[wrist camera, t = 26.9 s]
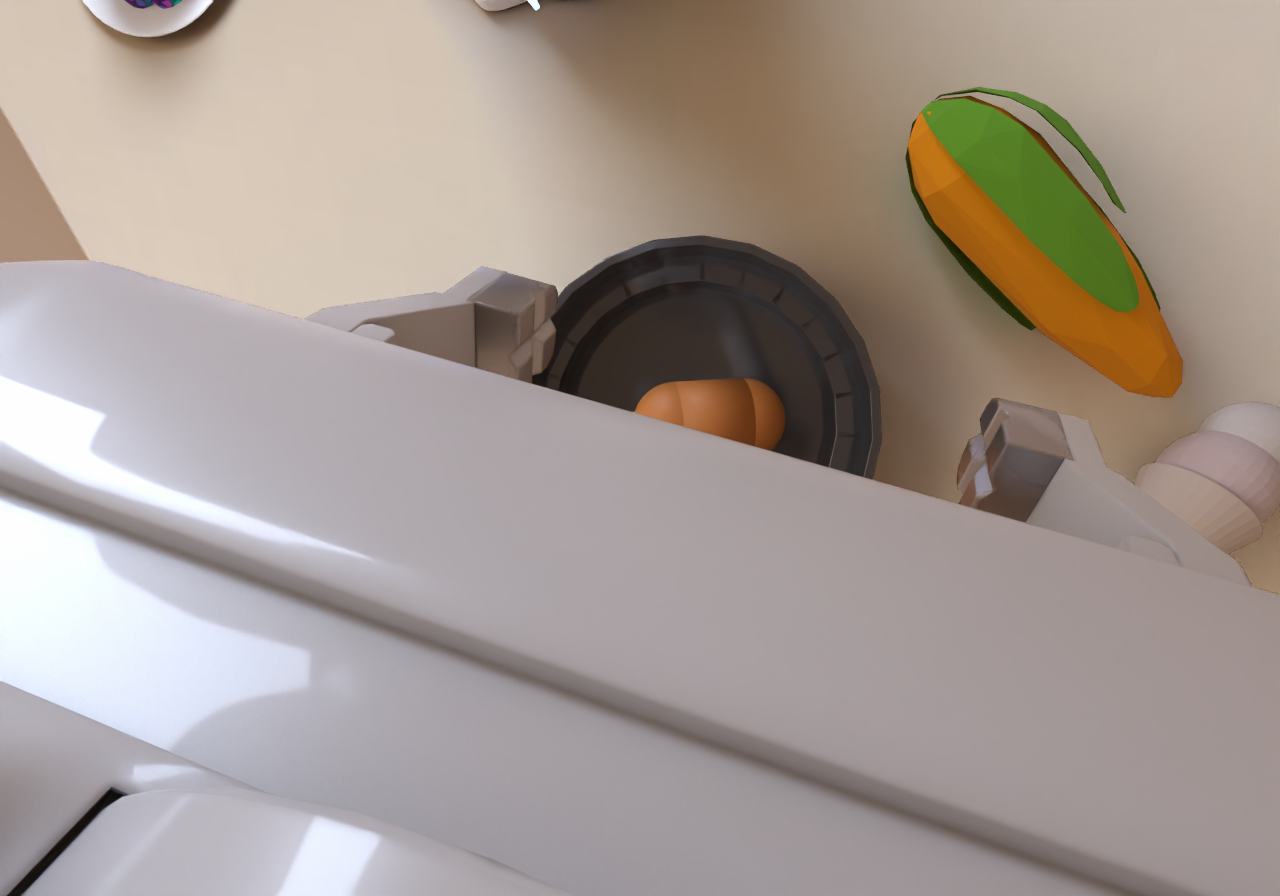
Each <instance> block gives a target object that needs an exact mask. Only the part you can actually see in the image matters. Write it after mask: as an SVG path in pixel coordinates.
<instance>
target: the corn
mask: <svg viewBox="0 0 1280 896" xmlns="http://www.w3.org/2000/svg"><path fill="white" fill-rule="evenodd" d="M972 92H981V93H987V94H992V95H997V96H1002V97H1007V98H1011V99H1013V100H1015V101H1017V102H1019V103H1021V104H1023V105H1026V106H1028V107H1030V108H1032V109H1034V110H1036V111H1037V112H1038V113H1039V114H1040V115H1041V116H1042V117H1044V118H1045V119H1046V120H1047V121H1048V122H1049V123H1050V124H1051V125H1052V126H1053V127H1054V128H1055V129H1056V130H1057V131H1058V132H1059V133H1060V134H1062V135H1063V136H1064V137H1065V138H1066V139H1067V140H1068V141H1069V142H1070V143H1071V144H1072V145H1073V146H1074V147H1075V148H1076V149H1077V150H1078V151H1079V152H1080V154H1081V155H1082V156H1083V158H1084V159H1085V161H1086V162H1087V163H1088V165H1089V166H1090V167H1091V169H1092V170H1093V172H1094V173H1095V174H1096V176H1097V177H1098V178H1099V180H1100V181H1101V182H1102V184H1103V186H1104V188H1105V190H1106V191H1107V193H1108V195H1109V197H1110V199H1111V200H1112V202H1113V203H1114V204H1115V205H1116V206H1117V207H1118V208H1119V209H1120V210H1122V211H1123V212H1124V213H1126V211H1125V209H1124V207H1123V205H1122V203H1121V202H1120V200H1119V198H1118V196H1117V194H1116V192H1115V190H1114V188H1113V186H1112V184H1111V182H1110V181H1109V179H1108V177H1107V175H1106V173H1105V171H1104V169H1103V167H1102V165H1101V164H1100V163H1099V161H1098V160H1097V159H1096V158H1095V156H1094V155H1093V154H1092V152H1091V151H1090V150H1089V148H1088V147H1087V146H1086V145H1085V143H1084V142H1083V141H1082V139H1081V138H1080V137H1079V135H1078V134H1077V133H1076V132H1075V130H1074V129H1073V128H1072V126H1071V125H1070V124H1069V122H1068V121H1067V120H1066V119H1064V118H1063V117H1062V116H1060V115H1059V114H1058V113H1056V112H1055V111H1054V110H1052V109H1051V108H1049V107H1048V106H1047V105H1045V104H1043V103H1040V102H1038V101H1035V100H1033V99H1031V98H1028V97H1026V96H1024V95H1021V94H1019V93H1017V92H1010V91H1003V90H996V89H988V88H981V87H977V88H972V89H967V90H962V91H957V92H953V93H948V94H943V95H939V96H938V97H937V98H939V97H941V96H946V95H955V94H963V93H972ZM937 98H936V99H937ZM936 99H935V100H936ZM906 163H907V168H908V173H909V179H910V184H911V189H912V193H913V195H914V197H915V199H916V201H917V203H918V205H919V207H920V209H921V211H922V213H923V215H924V217H925V220H926V221H927V223H928V224H929V225H930V227H931V228H932V229H933V230H934V232H935V233H936V234H937V235H938V237H939V238H940V239H941V241H942V242H943V243H944V244H945V246H946V247H947V248H948V249H949V251H950V252H951V253H952V255H953V256H954V257H955V258H956V260H957V261H958V262H959V263H960V265H961V266H962V267H963V269H964V270H965V271H966V272H967V274H968V275H969V276H970V277H971V278H972V279H973V280H974V281H975V282H976V283H977V284H978V285H979V286H980V287H981V288H982V289H983V290H984V291H985V292H986V293H987V294H988V295H989V296H990V297H991V298H992V299H993V300H994V301H995V302H996V303H997V304H998V305H999V306H1000V307H1001V308H1002V309H1003V310H1005V311H1006V312H1007V313H1008V314H1009V315H1011V316H1012V317H1013V318H1014V319H1015V320H1017V321H1018V322H1019V323H1020V324H1021V325H1023V326H1025V327H1026V328H1028V329H1030V330H1033V329H1035V328H1037V329H1038V330H1039V331H1040V332H1041V333H1043V334H1044V335H1046V336H1047V337H1049V338H1050V339H1052V340H1053V341H1055V342H1056V343H1058V344H1059V345H1060V346H1062V347H1063V348H1065V349H1066V350H1068V351H1069V352H1071V353H1072V354H1074V355H1075V356H1077V357H1078V358H1080V359H1081V360H1082V361H1084V362H1085V363H1087V364H1088V365H1090V366H1091V367H1093V368H1094V369H1096V370H1097V371H1099V372H1100V373H1101V374H1103V375H1104V376H1106V377H1107V378H1109V379H1110V380H1112V381H1113V382H1115V383H1116V384H1118V385H1119V386H1121V387H1122V388H1123V389H1125V390H1126V391H1128V392H1133V393H1137V394H1142V395H1146V396H1151V397H1173V395H1174V394H1175V392H1176V391H1177V389H1178V388H1179V386H1180V385H1181V383H1182V363H1183V361H1182V359H1181V356H1180V354H1179V352H1178V350H1177V348H1176V346H1175V343H1174V341H1173V339H1172V337H1171V335H1170V332H1169V330H1168V328H1167V326H1166V324H1165V322H1164V319H1163V317H1162V315H1161V313H1160V306H1159V303H1158V300H1157V298H1156V295H1155V292H1154V290H1153V288H1152V286H1151V284H1150V282H1149V280H1148V278H1147V276H1146V274H1145V272H1144V270H1143V268H1142V266H1141V264H1140V262H1139V260H1138V259H1137V257H1136V256H1135V255H1134V253H1133V252H1132V250H1131V249H1130V248H1129V246H1128V245H1127V244H1126V242H1125V241H1124V239H1123V238H1122V237H1121V235H1120V234H1119V233H1118V231H1117V230H1116V228H1115V227H1114V226H1113V224H1112V223H1111V222H1110V220H1109V219H1108V217H1107V216H1106V215H1105V213H1104V212H1103V211H1102V209H1101V208H1100V207H1099V206H1098V204H1097V203H1096V202H1095V201H1094V200H1093V199H1092V198H1091V197H1090V195H1089V194H1088V193H1087V192H1086V191H1085V190H1084V189H1083V187H1082V186H1081V185H1080V184H1079V182H1078V181H1077V180H1076V178H1075V177H1074V176H1073V175H1072V173H1071V172H1070V171H1069V170H1068V168H1067V167H1066V166H1065V165H1064V163H1063V162H1062V161H1061V160H1060V158H1059V157H1058V156H1057V154H1056V153H1055V152H1054V151H1053V149H1052V148H1051V147H1050V146H1049V144H1048V143H1047V142H1046V141H1045V139H1044V138H1043V137H1042V136H1041V134H1039V133H1038V132H1036V131H1035V130H1033V129H1032V128H1030V127H1029V126H1027V125H1026V124H1025V123H1023V122H1022V121H1020V120H1019V119H1017V118H1016V117H1014V116H1013V115H1011V114H1010V113H1008V112H1007V111H1005V110H1004V109H1002V108H1000V107H997V106H994V105H992V104H989V103H987V102H984V101H982V100H979V99H977V98H974V97H972V96H964V97H954V98H944V99H939V100H937V101H932V102H931V103H930V104H928V105H927V106H926V107H925V108H924V109H923V110H922V111H921V112H920V114H919V116H918V118H917V119H916V120H915V121H914V122H913V124H912V129H911V134H910V139H909V143H908V149H907V154H906Z"/></svg>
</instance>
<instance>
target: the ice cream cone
mask: <svg viewBox="0 0 1280 896" xmlns="http://www.w3.org/2000/svg"><path fill="white" fill-rule="evenodd" d="M1134 485H1136V486H1137V487H1138V488H1140V489H1141V490H1142V491H1144V492H1145V493H1146V494H1148V495H1149V496H1150V497H1152V498H1153V499H1154V500H1156V501H1157V502H1159V503H1160V504H1161V505H1163V506H1164V507H1165V508H1167V509H1168V510H1169V511H1171V512H1172V513H1173V514H1175V515H1176V516H1177V517H1179V518H1180V519H1181V520H1183V521H1184V522H1185V523H1187V524H1188V525H1189V526H1191V527H1192V528H1193V529H1195V530H1196V531H1197V532H1199V533H1200V534H1201V535H1203V536H1204V537H1205V538H1207V539H1208V540H1209V541H1211V542H1212V543H1213V544H1215V545H1216V546H1217V547H1219V548H1220V549H1221V550H1223V551H1224V552H1225V553H1227V554H1228V553H1230V552H1232V551H1235V550H1237V549H1239V548H1241V547H1243V546H1245V545H1247V544H1249V543H1251V542H1254V541H1256V540H1258V539H1259V538H1260V537H1261V536H1262V533H1263V529H1262V525H1261V524H1262V523H1263V522H1265V521H1266V520H1267V519H1268V518H1269V517H1270V516H1272V515H1273V513H1274V512H1275V511H1276V510H1277V508H1278V507H1279V505H1280V408H1279V407H1276V406H1273V405H1270V404H1266V403H1258V402H1245V403H1237V404H1233V405H1230V406H1227V407H1224V408H1221V409H1219V410H1218V411H1216V412H1214V413H1213V414H1212V415H1210V416H1209V417H1208V418H1207V419H1206V420H1205V421H1204V422H1203V423H1202V425H1201V426H1200V427H1199V429H1198V431H1197V432H1196V433H1193V434H1190V435H1187V436H1184V437H1181V438H1179V439H1178V440H1176V441H1174V442H1173V443H1171V444H1170V445H1169V446H1168V447H1167V448H1165V449H1164V450H1163V451H1162V452H1161V453H1160V455H1159V456H1158V458H1157V459H1156V461H1155V463H1149V464H1146V465H1143V466H1142V467H1140V468H1139V471H1138V474H1137V477H1136V480H1135V483H1134Z"/></svg>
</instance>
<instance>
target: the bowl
mask: <svg viewBox="0 0 1280 896" xmlns="http://www.w3.org/2000/svg"><path fill="white" fill-rule="evenodd" d="M549 318H550V319H551V321H552V323H553V325H554V327H555V328H556V340H555V346H554V351H553V354H552V357H551V359H550V361H549V364H548V366H547V367H546V368H545V369H544V370H543V372H542V373H539V374H535V375H532V384H534V385H538V386H542V387H545V388H549V389H552V390H556V391H559V392H563V393H566V394H570V395H573V396H577V397H581V398H584V399H588V400H591V401H595V402H598V403H602V404H605V405H609V406H612V407H616V408H620V409H623V410H627V411H630V412H635V410H636V407H637V405H638V403H639V401H640V400H641V399H642V397H643V396H644V395H645V394H646V393H647V392H648V391H650V390H651V389H653V388H654V387H656V386H658V385H661V384H663V383H668V382H678V381H696V380H713V379H730V378H750V379H754V380H758V381H761V382H763V383H765V384H766V385H768V386H769V387H770V388H771V389H773V390H774V391H775V393H776V394H777V395H778V397H779V398H780V400H781V402H782V404H783V407H784V410H785V428H784V431H783V434H782V437H781V439H780V440H779V442H778V443H777V445H776V446H775V447H774V448H773V449H772V450H771V451H772V452H776V453H779V454H783V455H786V456H790V457H793V458H797V459H801V460H804V461H808V462H811V463H815V464H818V465H822V466H825V467H829V468H833V469H836V470H840V471H843V472H847V473H850V474H854V475H857V476H861V477H864V478H868V479H872V480H873V476H874V471H875V467H876V463H877V459H878V454H879V450H880V446H881V440H882V431H881V406H880V390H879V385H878V382H877V379H876V376H875V373H874V370H873V367H872V364H871V361H870V358H869V354H868V351H867V348H866V345H865V342H864V340H863V339H862V337H861V336H860V334H859V333H858V331H857V330H856V328H855V326H854V325H853V323H852V322H851V320H850V319H849V317H848V316H847V314H846V313H845V311H844V310H843V308H842V307H841V305H840V304H839V302H838V301H837V300H836V299H835V297H834V296H832V295H831V294H830V293H829V292H828V291H827V290H825V289H824V288H823V287H822V286H821V285H820V284H818V283H817V282H816V281H815V280H814V279H813V278H812V277H810V276H809V275H808V274H807V273H806V272H805V271H803V270H802V269H801V268H800V267H799V266H797V265H796V264H793V263H791V262H789V261H787V260H785V259H783V258H781V257H779V256H777V255H774V254H772V253H770V252H768V251H766V250H764V249H762V248H760V247H758V246H755V245H753V244H750V243H744V242H738V241H732V240H727V239H721V238H715V237H710V236H702V235H701V236H690V237H680V238H669V239H658V240H652V241H649V242H646V243H644V244H641V245H638V246H636V247H633V248H630V249H628V250H625V251H622V252H620V253H617V254H614V255H612V256H609V257H607V258H605V259H604V260H603V261H601V262H600V263H598V264H597V265H596V266H594V267H593V268H591V269H590V270H589V271H587V272H586V273H584V274H583V275H582V276H580V277H579V278H577V279H576V280H575V281H573V282H572V283H570V284H569V285H568V286H567V287H566V288H565V289H564V290H563V292H562V293H561V294H560V295H559V296H558V306H557V310H556V311H555V312H554V313H553V314H552V315H551V316H550V317H549Z"/></svg>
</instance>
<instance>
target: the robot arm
mask: <svg viewBox="0 0 1280 896" xmlns="http://www.w3.org/2000/svg"><path fill="white" fill-rule="evenodd" d="M475 1H476V3H477V4H478V5H479V6H480V7H482V8H483V9H485V10H488V11H499V10H504V9H507V8H510V7H513V6H516V5H519V4H521V3H524V2H526V1H528V2H529V3H530V4H531V5H532V7H533V8H534V9H535V10H536V11H537V10H538V9H539V8H540V6H539V4H538V2H537V0H475ZM557 306H558V292H557V289H556V287H555V286H554V285H550V284H547V283H543V282H539V281H536V280H532V279H528V278H525V277H521V276H517V275H514V274H510V273H507V272H506V271H501V270H496V269H492V268H487V267H483V266H482V267H480V268H479V269H477V270H476V271H474V272H473V273H472V274H470V275H469V276H467V277H466V278H464V279H463V280H462V281H460V282H459V283H457V284H456V285H454V286H453V287H452V288H450V289H449V290H447V291H446V292H444V293H443V294H441V293H437V292H432V293H425V294H419V295H412V296H405V297H398V298H391V299H384V300H377V301H371V302H364V303H357V304H350V305H343V306H336V307H329V308H323V309H321V310H319V311H317V312H316V313H314V314H312V315H311V316H309V317H307V318H306V319H300V318H297V317H293V316H290V315H286V314H282V313H279V312H275V311H272V310H268V309H265V308H261V307H258V306H254V305H250V304H247V303H243V302H240V301H236V300H233V299H229V298H226V297H222V296H219V295H215V294H211V293H208V292H204V291H201V290H197V289H194V288H190V287H187V286H183V285H179V284H176V283H172V282H169V281H165V280H162V279H158V278H155V277H151V276H147V275H144V274H141V273H138V272H135V271H132V270H129V269H126V268H122V267H119V266H115V265H111V264H108V263H104V262H97V261H82V260H54V261H28V262H27V261H26V262H8V263H0V896H1280V594H1276V593H1273V592H1269V591H1266V590H1262V589H1258V588H1255V587H1253V586H1252V584H1251V582H1250V581H1249V579H1248V577H1247V575H1246V573H1245V571H1244V570H1243V568H1242V566H1241V564H1240V563H1239V562H1237V561H1236V560H1235V559H1233V558H1232V557H1231V556H1229V555H1228V554H1227V553H1225V552H1224V551H1223V550H1221V549H1220V548H1219V547H1217V546H1216V545H1215V544H1213V543H1212V542H1211V541H1209V540H1208V539H1207V538H1205V537H1204V536H1203V535H1201V534H1200V533H1199V532H1197V531H1196V530H1195V529H1193V528H1192V527H1191V526H1189V525H1188V524H1187V523H1185V522H1184V521H1183V520H1181V519H1180V518H1179V517H1177V516H1176V515H1175V514H1173V513H1172V512H1171V511H1169V510H1168V509H1167V508H1165V507H1164V506H1163V505H1161V504H1160V503H1159V502H1157V501H1156V500H1154V499H1153V498H1152V497H1150V496H1149V495H1148V494H1146V493H1145V492H1144V491H1142V490H1141V489H1140V488H1138V487H1137V486H1136V485H1134V484H1133V483H1132V482H1130V481H1129V480H1128V479H1126V478H1125V477H1124V476H1122V475H1121V474H1120V473H1118V472H1114V471H1111V470H1109V469H1108V467H1107V464H1106V462H1105V459H1104V457H1103V454H1102V452H1101V450H1100V447H1099V445H1098V442H1097V440H1096V437H1095V435H1094V432H1093V430H1092V427H1091V425H1090V422H1089V421H1088V420H1086V419H1084V418H1080V417H1075V416H1070V415H1066V414H1061V413H1057V412H1056V411H1052V410H1048V409H1043V408H1039V407H1035V406H1030V405H1026V404H1022V403H1017V402H1013V401H1009V400H1004V399H1000V398H994V399H992V400H991V401H990V402H989V404H988V405H987V406H986V408H985V410H984V412H983V414H982V416H981V418H980V423H981V430H982V433H981V434H979V435H977V436H975V437H973V438H972V439H970V440H969V442H968V444H967V446H966V448H965V450H964V452H963V455H962V458H961V461H960V464H959V467H958V473H957V489H958V490H959V491H960V492H961V493H962V494H963V497H962V499H961V501H960V502H959V504H957V503H953V502H950V501H946V500H943V499H939V498H935V497H932V496H928V495H925V494H921V493H918V492H914V491H911V490H907V489H903V488H900V487H896V486H893V485H889V484H886V483H882V482H879V481H875V480H872V479H868V478H864V477H861V476H857V475H854V474H850V473H847V472H843V471H840V470H836V469H833V468H829V467H825V466H822V465H818V464H815V463H811V462H808V461H804V460H801V459H797V458H793V457H790V456H786V455H783V454H779V453H776V452H772V451H769V450H765V449H762V448H758V447H754V446H751V445H747V444H744V443H740V442H737V441H733V440H730V439H726V438H723V437H719V436H715V435H712V434H708V433H705V432H701V431H698V430H694V429H691V428H687V427H683V426H680V425H676V424H673V423H669V422H666V421H662V420H659V419H655V418H652V417H648V416H644V415H641V414H637V413H634V412H630V411H627V410H623V409H620V408H616V407H612V406H609V405H605V404H602V403H598V402H595V401H591V400H588V399H584V398H581V397H577V396H573V395H570V394H566V393H563V392H559V391H556V390H552V389H549V388H545V387H542V386H538V385H534V384H532V375H535V374H539V373H542V372H543V370H544V369H545V368H546V367H547V366H548V364H549V361H550V359H551V357H552V354H553V351H554V346H555V340H556V328H555V327H554V325H553V323H552V321H551V319H550V318H549V317H550V316H551V315H552V314H553V313H554V312H555V311H556V310H557Z"/></svg>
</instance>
